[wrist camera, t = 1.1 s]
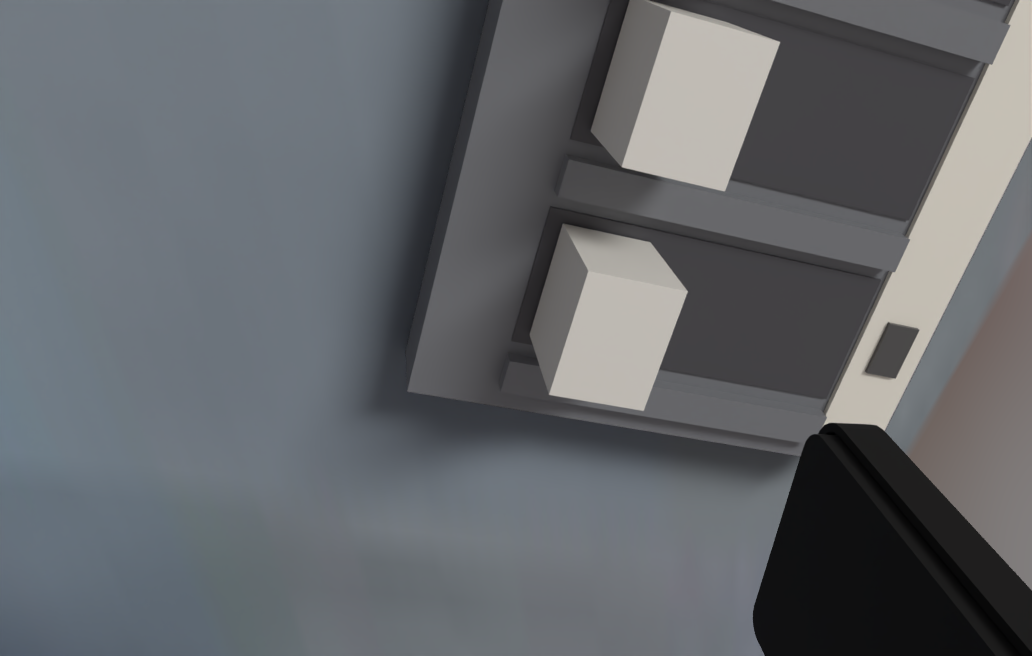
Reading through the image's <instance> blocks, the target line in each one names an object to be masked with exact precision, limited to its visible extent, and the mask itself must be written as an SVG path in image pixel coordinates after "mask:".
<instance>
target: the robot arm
mask: <svg viewBox="0 0 1032 656" xmlns="http://www.w3.org/2000/svg"><path fill="white" fill-rule="evenodd" d="M753 626H754V631H755V635H756V638H757V640H758V642H759V644H760V646H761V648H762V651H763V653H764V655H765V656H1032V591H1031V589H1030V588H1029V587H1028V586H1027V585H1026V584H1025V583H1024V582H1023V581H1022V580H1021V579H1020V577H1019V576H1018V575H1017V574H1016V573H1015V572H1014V571H1013V570H1012V569H1011V568H1010V567H1009V566H1008V564H1007V563H1006V562H1005V561H1004V560H1003V559H1002V558H1001V557H1000V556H999V555H998V554H997V553H996V551H995V550H994V549H993V548H992V547H991V546H990V545H989V544H988V543H987V542H986V541H985V540H984V538H982V537H981V535H980V534H979V533H978V532H977V531H976V530H975V529H974V528H973V527H972V525H971V524H970V523H969V522H968V521H967V520H966V519H965V518H964V517H963V516H962V515H961V514H960V512H959V511H958V510H957V509H956V508H955V507H954V506H953V505H952V504H951V503H950V502H949V501H948V499H947V498H946V497H945V496H944V495H943V494H942V493H941V492H940V491H939V490H938V489H937V488H936V487H935V485H933V483H932V482H931V481H930V480H929V479H928V478H927V477H926V476H925V475H924V474H923V472H922V471H921V470H920V469H919V468H918V467H917V466H916V465H915V464H914V463H913V462H912V461H911V459H910V458H909V457H908V456H907V455H906V454H905V453H904V452H903V451H902V450H901V449H900V448H899V446H898V445H897V444H896V443H895V442H894V441H893V440H892V439H891V438H890V437H889V436H888V435H887V433H886V432H885V431H884V430H883V429H881V428H880V427H879V426H877V425H871V424H850V423H828V424H826V425H824V426H823V427H822V428H821V430H820V431H819V433H818V434H813V435H811V436H809V438H808V439H807V440H806V442H805V444H804V447H803V450H802V453H801V457H800V460H799V463H798V466H797V470H796V473H795V476H794V479H793V482H792V486H791V489H790V492H789V495H788V499H787V502H786V505H785V508H784V512H783V515H782V518H781V521H780V524H779V528H778V531H777V534H776V537H775V541H774V544H773V547H772V550H771V553H770V557H769V560H768V563H767V566H766V570H765V573H764V576H763V579H762V582H761V586H760V589H759V592H758V595H757V599H756V602H755V605H754V610H753Z"/></svg>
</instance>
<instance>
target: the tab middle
mask: <svg viewBox="0 0 1032 656" xmlns="http://www.w3.org/2000/svg"><path fill="white" fill-rule="evenodd" d="M779 44H780V42H779V41H776V40H773V39H771V38H768V37H765V36H763V35H760V34H757V33H755V32H752V31H749V30H746V29H744V28H741V27H738V26H736V25H733V24H730V23H728V22H725V21H721V20H718V19H714V18H710V17H707V16H703V15H700V14H696V13H693V12H689V11H686V10H682V9H679V8H675V7H672V6H668V5H665V4H661V3H658V2H654V1H651V0H630V1H629V4H628V7H627V11H626V14H625V17H624V21H623V24H622V27H621V31H620V34H619V37H618V41H617V44H616V47H615V51H614V54H613V57H612V61H611V64H610V67H609V71H608V74H607V77H606V81H605V84H604V87H603V91H602V94H601V97H600V101H599V104H598V107H597V111H596V114H595V117H594V121H593V124H592V128H591V132H592V134H593V135H594V136H595V137H596V138H597V139H598V141H599V142H600V143H601V144H602V145H603V146H604V147H605V149H606V150H607V151H608V152H609V153H610V154H611V156H612V157H613V158H614V159H615V160H616V161H617V163H618V164H619V165H620V166H621V167H623V168H627V169H631V170H635V171H640V172H644V173H648V174H652V175H657V176H661V177H665V178H669V179H674V180H678V181H682V182H686V183H691V184H695V185H699V186H703V187H708V188H712V189H716V190H720V191H725V190H726V187H727V185H728V182H729V179H730V176H731V174H732V171H733V168H734V166H735V163H736V160H737V158H738V155H739V152H740V150H741V147H742V144H743V141H744V139H745V136H746V133H747V131H748V128H749V125H750V123H751V120H752V117H753V114H754V112H755V109H756V106H757V104H758V101H759V98H760V96H761V93H762V90H763V87H764V85H765V82H766V79H767V77H768V74H769V71H770V69H771V66H772V63H773V60H774V58H775V55H776V52H777V50H778V47H779Z"/></svg>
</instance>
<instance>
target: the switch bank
mask: <svg viewBox="0 0 1032 656" xmlns="http://www.w3.org/2000/svg"><path fill="white" fill-rule="evenodd" d="M629 1H630V0H489V4H488V8H487V12H486V17H485V21H484V25H483V29H482V33H481V37H480V42H479V46H478V50H477V54H476V58H475V63H474V67H473V71H472V75H471V79H470V83H469V88H468V92H467V96H466V100H465V104H464V109H463V113H462V117H461V121H460V125H459V130H458V134H457V138H456V142H455V146H454V150H453V155H452V159H451V163H450V167H449V171H448V176H447V180H446V184H445V188H444V192H443V197H442V201H441V205H440V209H439V213H438V217H437V222H436V226H435V230H434V234H433V238H432V243H431V247H430V251H429V255H428V259H427V263H426V268H425V272H424V276H423V280H422V284H421V289H420V293H419V297H418V301H417V305H416V310H415V314H414V318H413V322H412V326H411V330H410V335H409V339H408V343H407V347H406V375H407V392H413V393H419V394H425V395H431V396H437V397H443V398H449V399H455V400H461V401H467V402H473V403H479V404H485V405H491V406H497V407H504V408H510V409H516V410H522V411H528V412H534V413H540V414H546V415H552V416H558V417H564V418H570V419H576V420H582V421H588V422H595V423H601V424H607V425H613V426H619V427H625V428H631V429H637V430H643V431H649V432H655V433H661V434H667V435H673V436H679V437H686V438H692V439H698V440H704V441H710V442H716V443H722V444H728V445H734V446H740V447H746V448H752V449H758V450H764V451H770V452H777V453H783V454H789V455H795V456H801V453H802V450H803V447H804V444H805V442H806V440H807V439H808V438H809V436H811V435H813V434H818V433H819V431H820V430H821V428H822V427H823V426H824V425H826V424H828V423H850V424H871V425H877V426H879V427H880V428H881V429H883V430H884V431H886V429H887V427H888V425H889V423H890V421H891V419H892V417H893V415H894V413H895V411H896V409H897V407H898V405H899V403H900V401H901V399H902V397H903V395H904V393H905V391H906V389H907V387H908V385H909V383H910V381H911V379H912V377H913V375H914V373H915V371H916V369H917V367H918V365H919V363H920V361H921V359H922V357H923V355H924V353H925V351H926V349H927V347H928V345H929V343H930V341H931V339H932V337H933V335H934V333H935V331H936V329H937V327H938V325H939V323H940V321H941V319H942V317H943V315H944V313H945V311H946V309H947V307H948V305H949V303H950V301H951V299H952V297H953V295H954V293H955V291H956V289H957V287H958V285H959V283H960V281H961V279H962V277H963V275H964V273H965V271H966V269H967V267H968V265H969V263H970V261H971V259H972V257H973V255H974V253H975V251H976V249H977V247H978V245H979V243H980V241H981V239H982V237H983V235H984V233H985V231H986V229H987V227H988V225H989V223H990V221H991V219H992V217H993V215H994V213H995V211H996V209H997V208H998V206H999V204H1000V202H1001V200H1002V198H1003V196H1004V194H1005V192H1006V190H1007V188H1008V186H1009V184H1010V182H1011V180H1012V178H1013V176H1014V174H1015V172H1016V170H1017V168H1018V166H1019V164H1020V162H1021V160H1022V158H1023V156H1024V154H1025V152H1026V150H1027V148H1028V146H1029V144H1030V142H1031V140H1032V0H651V1H654V2H658V3H661V4H665V5H668V6H672V7H675V8H679V9H682V10H686V11H689V12H693V13H696V14H700V15H703V16H707V17H710V18H714V19H718V20H721V21H725V22H728V23H730V24H733V25H736V26H738V27H741V28H744V29H746V30H749V31H752V32H755V33H757V34H760V35H763V36H765V37H768V38H771V39H773V40H776V41H779V42H780V44H779V47H778V50H777V52H776V55H775V58H774V60H773V63H772V66H771V69H770V71H769V74H768V77H767V79H766V82H765V85H764V87H763V90H762V93H761V96H760V98H759V101H758V104H757V106H756V109H755V112H754V114H753V117H752V120H751V123H750V125H749V128H748V131H747V133H746V136H745V139H744V141H743V144H742V147H741V150H740V152H739V155H738V158H737V160H736V163H735V166H734V168H733V171H732V174H731V176H730V179H729V182H728V185H727V187H726V190H725V191H720V190H716V189H712V188H708V187H703V186H699V185H695V184H691V183H686V182H682V181H678V180H674V179H669V178H665V177H661V176H657V175H652V174H648V173H644V172H640V171H635V170H631V169H627V168H623V167H621V166H620V165H619V164H618V163H617V161H616V160H615V159H614V158H613V157H612V156H611V154H610V153H609V152H608V151H607V150H606V149H605V147H604V146H603V145H602V144H601V143H600V142H599V141H598V139H597V138H596V137H595V136H594V135H593V134H592V132H591V128H592V124H593V121H594V117H595V114H596V111H597V107H598V104H599V101H600V97H601V94H602V91H603V87H604V84H605V81H606V77H607V74H608V71H609V67H610V64H611V61H612V57H613V54H614V51H615V47H616V44H617V41H618V37H619V34H620V31H621V27H622V24H623V21H624V17H625V14H626V11H627V7H628V4H629ZM563 223H564V224H568V225H573V226H578V227H582V228H587V229H591V230H596V231H601V232H605V233H610V234H614V235H619V236H624V237H628V238H633V239H637V240H642V241H647V242H651V244H652V245H653V246H654V248H655V249H656V250H657V251H658V253H659V254H660V255H661V257H662V258H663V259H664V261H665V262H666V263H667V265H668V266H669V267H670V269H671V270H672V271H673V273H674V274H675V275H676V276H677V278H678V279H679V280H680V282H681V283H682V284H683V286H684V287H685V288H686V290H687V291H688V293H687V295H686V298H685V301H684V303H683V306H682V309H681V311H680V314H679V317H678V319H677V322H676V325H675V328H674V330H673V333H672V336H671V338H670V341H669V344H668V346H667V349H666V352H665V355H664V357H663V360H662V363H661V365H660V368H659V371H658V373H657V376H656V379H655V382H654V384H653V387H652V390H651V392H650V395H649V398H648V400H647V403H646V406H645V409H644V411H641V410H635V409H629V408H623V407H617V406H612V405H606V404H600V403H594V402H588V401H582V400H576V399H570V398H565V397H559V396H553V395H549V393H548V390H547V387H546V384H545V381H544V378H543V375H542V372H541V369H540V366H539V362H538V359H537V356H536V353H535V350H534V347H533V344H532V341H531V338H530V331H531V328H532V325H533V321H534V318H535V315H536V311H537V308H538V305H539V301H540V298H541V295H542V291H543V288H544V285H545V281H546V278H547V275H548V271H549V268H550V265H551V261H552V258H553V255H554V251H555V248H556V245H557V241H558V238H559V234H560V231H561V228H562V224H563Z"/></svg>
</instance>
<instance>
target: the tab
mask: <svg viewBox="0 0 1032 656" xmlns="http://www.w3.org/2000/svg"><path fill="white" fill-rule="evenodd" d="M687 293H688V291H687V290H686V288H685V287H684V286H683V284H682V283H681V282H680V280H679V279H678V278H677V276H676V275H675V274H674V273H673V271H672V270H671V269H670V267H669V266H668V265H667V263H666V262H665V261H664V259H663V258H662V257H661V255H660V254H659V253H658V251H657V250H656V249H655V248H654V246H653V245H652V244H651V242H647V241H642V240H637V239H633V238H628V237H624V236H619V235H614V234H610V233H605V232H601V231H596V230H591V229H587V228H582V227H578V226H573V225H568V224H564V223H563V224H562V228H561V231H560V234H559V238H558V241H557V245H556V248H555V251H554V255H553V258H552V261H551V265H550V268H549V271H548V275H547V278H546V281H545V285H544V288H543V291H542V295H541V298H540V301H539V305H538V308H537V311H536V315H535V318H534V321H533V325H532V328H531V331H530V338H531V341H532V344H533V347H534V350H535V353H536V356H537V359H538V362H539V366H540V369H541V372H542V375H543V378H544V381H545V384H546V387H547V390H548V393H549V395H553V396H559V397H565V398H570V399H576V400H582V401H588V402H594V403H600V404H606V405H612V406H617V407H623V408H629V409H635V410H641V411H644V409H645V406H646V403H647V400H648V398H649V395H650V392H651V390H652V387H653V384H654V382H655V379H656V376H657V373H658V371H659V368H660V365H661V363H662V360H663V357H664V355H665V352H666V349H667V346H668V344H669V341H670V338H671V336H672V333H673V330H674V328H675V325H676V322H677V319H678V317H679V314H680V311H681V309H682V306H683V303H684V301H685V298H686V295H687Z"/></svg>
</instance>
